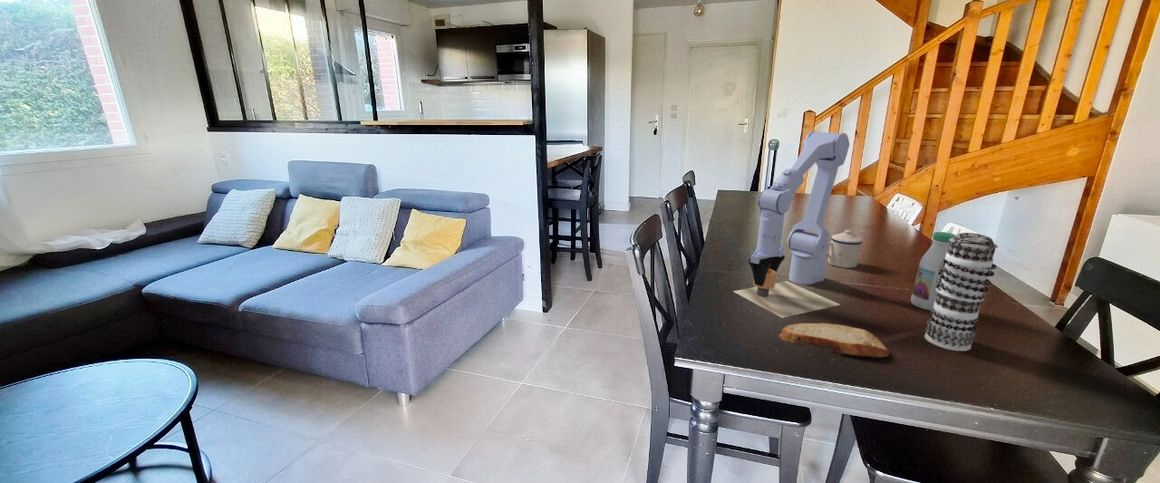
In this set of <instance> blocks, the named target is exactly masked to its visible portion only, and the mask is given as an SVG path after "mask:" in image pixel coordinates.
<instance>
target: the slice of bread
mask: <svg viewBox="0 0 1160 483" xmlns="http://www.w3.org/2000/svg"><path fill="white" fill-rule="evenodd" d="M778 337H779V338H780V339H781V340H782V341H783V342H787V343H791V344H793V345H798V346H800V347H805V345H804V344H802V343H805V344H811V345H815V346H819V347H823V348H828V349H832V350H830V351H829V353H834V354H839V355H847V356H849V357H850V356H851V357H852V356H854V357H855V356H856V357H861V358H866V357H867V358H872V359H873V358H874V359H880V358H881V359H882V358H886V357H889V356H890V355H891V353H890V351H889V349H888V348H887V346H886V345H885V344H884V343H883V342H882V341H881V340H880V339H879V338H878V337H877V336H875V335H874V334H873V333H871V332H870V331H868V330H866V329H863V328H858V327H853V326H848V325H844V324H843V325H842V324H836V323H835V324H832V323H828V322H827V323H826V322H821V323H809V322H808V323H805V322H803V323H799V322H798V323H794V324H789V325H786V326H784V327H783V328H782V329H781V332H779V334H778ZM800 342H802V343H800Z"/></svg>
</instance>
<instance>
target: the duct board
mask: <svg viewBox="0 0 1160 483" xmlns="http://www.w3.org/2000/svg"><path fill="white" fill-rule="evenodd" d="M732 292H733V293H735V294H737V295H739V296H741V297H743V298H745V299H747V300H748V301H749V302H752V303H754V304H756V305H757V306H759V307H762V309H764V310H766V311H768V312H771V313H773V315H776V316H778V317H780V318H781V319H784V318H785V319H786V318H788V317H789V318H790V317H793V316H797V315H801V314H805V313H810V312H814V311H819V310H824V309H828V308H833V307H836V306H840V305H841V303H838V302H835V301H834V300H831V299H829V298H826V297H824V296H821V295H819V294H817V293H815V292H813V291H810V290H808V289H805V288H803V287H802V286H800V285H796V283H792V282H790V281H788V280H785V281H780V282H775V287H774V288H772V289H763V288H759V287H756V286H753V287H748V288H744V289H743V288H742V289H737V290H733V291H732Z"/></svg>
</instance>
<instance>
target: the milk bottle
mask: <svg viewBox="0 0 1160 483" xmlns="http://www.w3.org/2000/svg"><path fill="white" fill-rule="evenodd" d="M955 235H956V234H954V233H950V232H946V231H935V232H934V233H933V234H932V240H931V241H932V243H931V246H930V247H929V248H928V250H927V251H926V252H925V253H924V254H923V256H922V257H921V259H920V261H919V264H918V268H917V271H916V275H915V278H916V279H915V281H914V283H913V288H912V293H911V297H910V302H911V304H912V305H914V307H916V308H919V309H922V310H926V311H930V310H931V308H932V307H933V306H934V302H935V300H936V298H937V294H938V292H937V291H936V288H935V287H936V285H937V281H938V278H940V276H939V274H938V272H939V270H940V268H939V266H940V264H941V263H944V262H943V261H942V260H943V259H945V257H946V253H947V251H948V249H949V245H950V241H949V238H953V237H954V236H955ZM945 260H946V259H945ZM944 267H945V265H944ZM942 274H943V273H942Z"/></svg>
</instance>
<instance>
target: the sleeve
mask: <svg viewBox="0 0 1160 483" xmlns="http://www.w3.org/2000/svg"><path fill="white" fill-rule="evenodd" d="M776 280H777V272H776V271H774V270H772V269H768V271H767V274H766V278H765V282H764V284H763V286H759V285H755V283H754V281H753V286H754V287H759V288H763V289H772V288H774V287H775V283H776Z"/></svg>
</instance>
